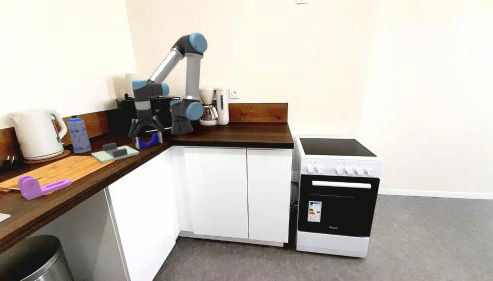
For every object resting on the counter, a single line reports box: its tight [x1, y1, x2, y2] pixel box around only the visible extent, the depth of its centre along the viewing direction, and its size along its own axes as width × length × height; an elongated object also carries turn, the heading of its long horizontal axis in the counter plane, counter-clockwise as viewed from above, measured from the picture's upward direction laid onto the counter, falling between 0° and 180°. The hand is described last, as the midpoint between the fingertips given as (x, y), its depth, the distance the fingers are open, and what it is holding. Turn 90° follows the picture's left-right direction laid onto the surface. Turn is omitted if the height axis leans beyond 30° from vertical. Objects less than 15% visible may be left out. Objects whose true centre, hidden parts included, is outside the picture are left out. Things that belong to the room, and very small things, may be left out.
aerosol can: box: [66, 114, 92, 154], centre depth 120 cm, size 8×8×20 cm
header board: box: [91, 142, 140, 163], centre depth 112 cm, size 17×18×4 cm
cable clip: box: [136, 132, 160, 150], centre depth 127 cm, size 12×4×6 cm, turn 142°
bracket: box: [17, 174, 73, 201], centre depth 77 cm, size 13×6×7 cm, turn 149°
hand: (149, 145), depth 127 cm, fingers open, 13 cm apart
